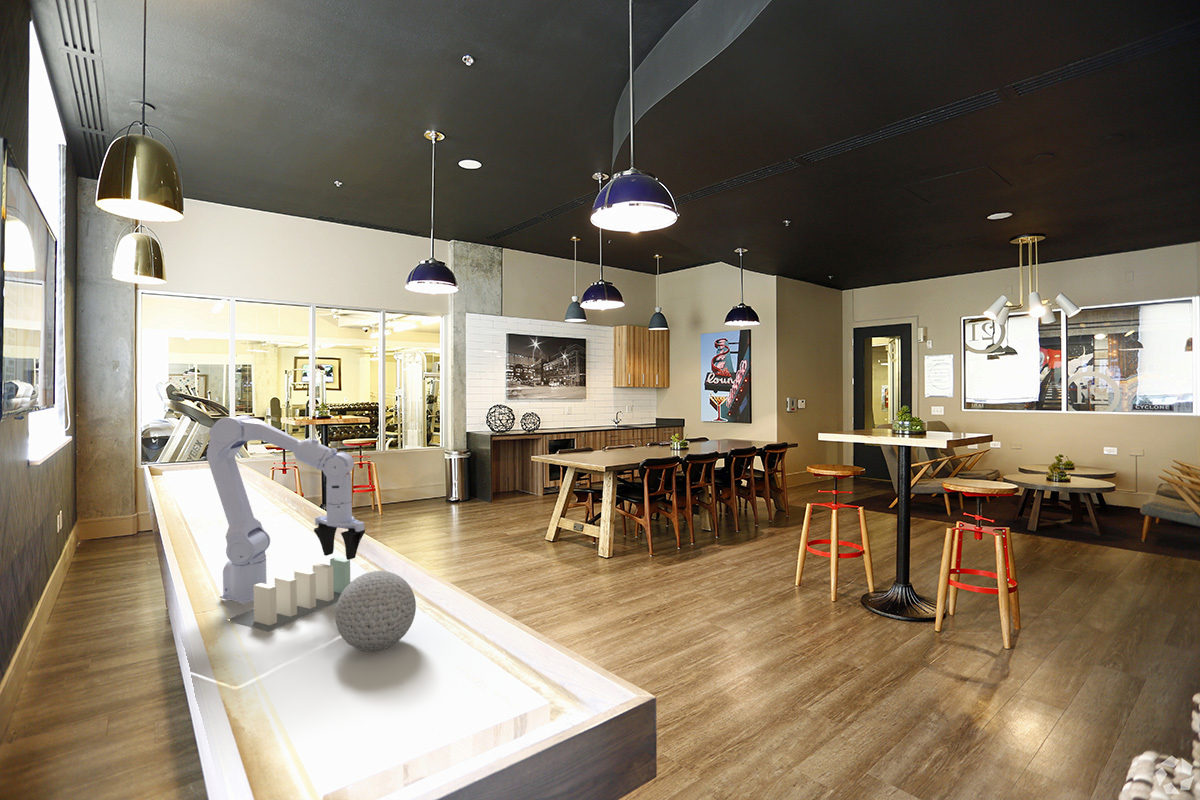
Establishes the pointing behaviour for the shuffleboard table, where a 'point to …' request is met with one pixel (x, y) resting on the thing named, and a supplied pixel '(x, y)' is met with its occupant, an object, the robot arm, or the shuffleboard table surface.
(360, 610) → the decorative ball
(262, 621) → the domino
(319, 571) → the domino
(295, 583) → the domino
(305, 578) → the domino
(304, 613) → the slate mat
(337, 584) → the domino
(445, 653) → the shuffleboard table surface
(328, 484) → the robot arm
